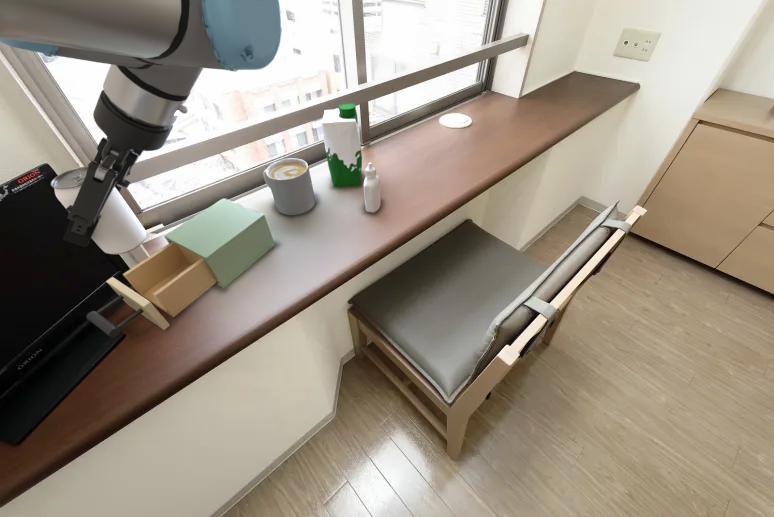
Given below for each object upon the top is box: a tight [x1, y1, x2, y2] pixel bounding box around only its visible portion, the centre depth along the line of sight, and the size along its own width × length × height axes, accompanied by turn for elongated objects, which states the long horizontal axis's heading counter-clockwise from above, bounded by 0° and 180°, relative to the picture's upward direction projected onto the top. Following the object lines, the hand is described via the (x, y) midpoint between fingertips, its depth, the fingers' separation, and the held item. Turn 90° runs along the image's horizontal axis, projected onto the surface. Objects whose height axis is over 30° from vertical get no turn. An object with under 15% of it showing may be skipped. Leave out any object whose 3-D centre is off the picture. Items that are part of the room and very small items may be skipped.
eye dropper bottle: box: [363, 162, 382, 213], centre depth 81 cm, size 4×6×12 cm
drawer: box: [86, 242, 218, 338], centre depth 62 cm, size 19×11×7 cm, turn 149°
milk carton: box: [321, 102, 363, 188], centre depth 87 cm, size 9×9×20 cm
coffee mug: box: [262, 157, 317, 216], centre depth 85 cm, size 13×10×10 cm
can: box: [50, 165, 148, 255], centre depth 50 cm, size 6×6×12 cm
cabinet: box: [163, 197, 276, 289], centre depth 71 cm, size 15×13×9 cm
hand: (87, 226), depth 52 cm, fingers closed on can, 6 cm apart
